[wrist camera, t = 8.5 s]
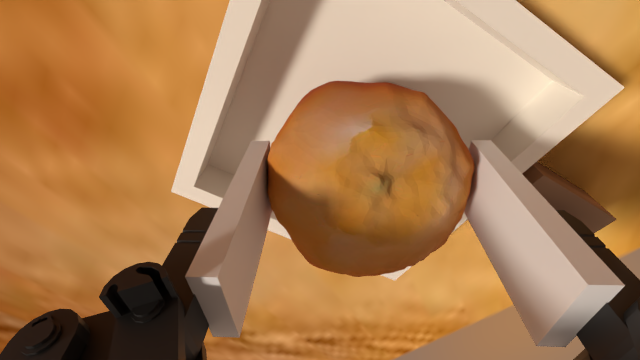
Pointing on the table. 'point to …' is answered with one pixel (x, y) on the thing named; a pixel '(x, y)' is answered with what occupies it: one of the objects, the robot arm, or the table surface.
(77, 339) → the robot arm
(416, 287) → the table surface
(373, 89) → the fruit
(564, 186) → the block
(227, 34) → the dish
